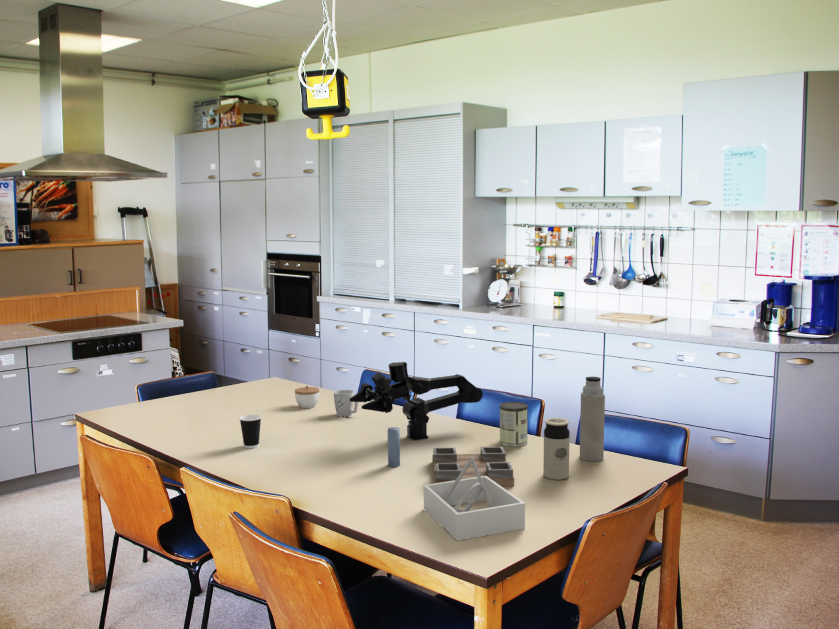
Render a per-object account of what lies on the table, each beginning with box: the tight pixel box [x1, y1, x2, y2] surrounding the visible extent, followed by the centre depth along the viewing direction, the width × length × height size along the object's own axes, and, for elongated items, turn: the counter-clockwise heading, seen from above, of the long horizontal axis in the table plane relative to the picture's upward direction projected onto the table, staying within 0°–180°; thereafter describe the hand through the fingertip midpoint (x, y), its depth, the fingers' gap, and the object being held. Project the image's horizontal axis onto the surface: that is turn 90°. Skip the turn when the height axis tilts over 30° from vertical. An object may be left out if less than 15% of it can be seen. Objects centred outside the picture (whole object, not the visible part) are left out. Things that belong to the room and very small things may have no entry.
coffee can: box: [499, 401, 529, 447], centre depth 264 cm, size 10×10×14 cm
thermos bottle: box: [579, 376, 606, 462], centre depth 245 cm, size 8×8×28 cm
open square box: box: [423, 476, 526, 541], centre depth 196 cm, size 20×23×7 cm
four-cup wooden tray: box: [431, 446, 515, 487], centre depth 232 cm, size 24×24×5 cm
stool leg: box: [387, 426, 401, 468], centre depth 240 cm, size 4×4×12 cm
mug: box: [333, 389, 359, 417], centre depth 304 cm, size 11×8×10 cm
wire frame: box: [443, 457, 494, 513], centre depth 194 cm, size 18×13×16 cm
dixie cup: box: [238, 414, 262, 449], centre depth 262 cm, size 8×8×11 cm
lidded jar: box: [294, 385, 320, 409], centre depth 320 cm, size 11×11×9 cm
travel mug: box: [542, 417, 571, 481], centre depth 228 cm, size 8×8×18 cm
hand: (355, 403), depth 258 cm, fingers open, 9 cm apart
